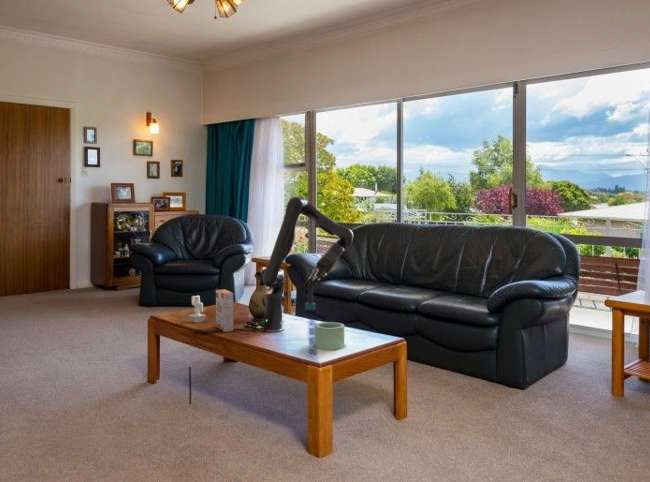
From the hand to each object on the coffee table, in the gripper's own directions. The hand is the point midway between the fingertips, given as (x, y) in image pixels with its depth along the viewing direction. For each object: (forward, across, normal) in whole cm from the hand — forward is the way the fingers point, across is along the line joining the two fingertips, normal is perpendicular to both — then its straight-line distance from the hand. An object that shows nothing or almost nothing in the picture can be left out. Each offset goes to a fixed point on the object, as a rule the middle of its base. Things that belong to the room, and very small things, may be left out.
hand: (307, 287), depth 274 cm
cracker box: (+34, -51, +5) cm, 62 cm away
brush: (+6, 0, +9) cm, 11 cm away
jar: (+15, +11, +24) cm, 30 cm away
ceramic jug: (+13, -64, +27) cm, 71 cm away
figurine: (+38, -79, +2) cm, 87 cm away
